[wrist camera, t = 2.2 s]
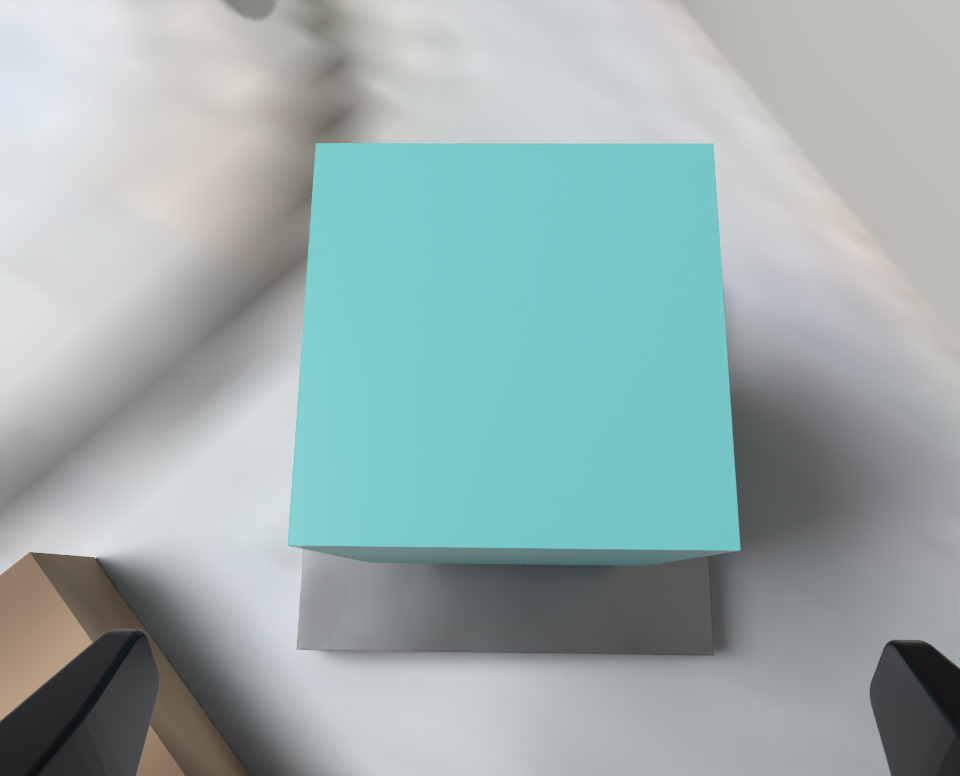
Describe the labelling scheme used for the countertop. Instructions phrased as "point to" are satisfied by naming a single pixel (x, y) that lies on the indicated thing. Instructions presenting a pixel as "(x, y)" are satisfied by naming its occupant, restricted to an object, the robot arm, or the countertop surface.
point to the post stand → (505, 607)
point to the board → (72, 628)
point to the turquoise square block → (514, 357)
